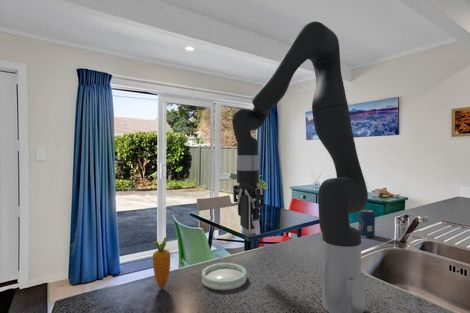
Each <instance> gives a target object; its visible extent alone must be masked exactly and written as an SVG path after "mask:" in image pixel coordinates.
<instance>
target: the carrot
mask: <svg viewBox="0 0 470 313" xmlns="http://www.w3.org/2000/svg"><path fill="white" fill-rule="evenodd" d="M167 238H168V237H166V236H165V237H163V240H162V242H161V243H160V244H159V241H158V240H155V241H154V242H153V244H154V246H155V247H156V249H157V250H156V251H154V253H152V265H153V266H152V267H153V274H154V278H155V281H156V284H157V285H158V287H159V289H161V290H163V289H164V288H165V286H166V285H167V282H168V279H169V275H170V270H171V252H170V251H169V250H167V249H166V245H167V240H168V239H167Z"/></svg>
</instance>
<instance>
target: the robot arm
mask: <svg viewBox="0 0 470 313" xmlns="http://www.w3.org/2000/svg"><path fill="white" fill-rule="evenodd" d="M340 51H341V50H340V41H339V38H338V36H337V35H336V33H335V32H334V31H333V30H332V29H331V28H329V27H328V26H326V25H325V24H323V23H322V22H319V21H311V22H309V23H307V24H305V25H304V26H303V27H302V28H301V29H300V31H299V32H298V33H297V35H296V36H295V38H294V39H293V41H292V42H291V44H290V46H289V47H288V49H287V50H286V52H285V53H284V55H283V57H282V59H281V60H280V62H279V63H278V65H277V67H276V68H275V70H274V71H273V72H272V74H271V75H270V77H269V78H268V79H267V80H266V81H265V83H264V84H263V85H262V86H261V87H260V89H259V90H258V91H257V92H256V93H255V94H254V96H253V97H252V98H251V102H252V105H253V107H252V109H247V108H238V109H237V110H235V112H234V113H233V115H232V120H231V122H232V123H231V124H232V129H233V132H234V138H235V141H236V145H237V146H236V154H237V156H236V183H237V184H235V185H233V186H232V188H233V193H232V194H233V196H232V197H233V202H234V203H236V205H237V216H239V217H240V200H241V196H242V194H246V195H248V196H249V198H250V202H251V203H252V207H253V209H252V221H257V220H259V219H260V209H261V208H262V207H263V208H264V206H265V189H264V187H261V188H259V187H258V183H259V182H260V160H259V159H260V158H259V143H258V142H259V141H258V139H257V138H255V137H253V136H252V133H251V132H253V131H256V130H258V129H260V128H261V127H262V125H263V124H264V123H265V121H266V119H267V118H268V116H269V114H270V113H271V111H272V110H273V109H274V107H275V106H276V105H277V104H278V103H279V102H280V101H281V100H282V99H283V98H284V96H285V95H286V93H287V91H288V88H289V87H290V83H291V81H292V78H293V76H294V74H295V73H296V72H297V71H298V69H299V68H300V67H301V66H302V65H303V64H304V62H306V61H307V60H309V61H310V62H311V63H312V66H313V71H314V74H315V82H316V84H315V91H314V94H313V98H312V102H311V103H312V104H311V113H312V117H313V118H312V120H313V125H314V130H315V133H316V136H317V137H318V139H319V141H320V142H321V143H322V145H323V147H324V149H326V151H327V152H328V154H329V155H330V158H331V159H332V162H333V165H334V169H335V173H336V177H332V178H328V179H325V180H324V181H323V182H322V183H321V184H320V185H319V188H318V195H317V205H318V221H319V222H318V224H319V228H320V231H321V235H322V237H321V238H322V307H323V309H324V310H325V311H326V312H328V313H365V311H366V297H365V296H366V290H365V289H366V286H365V285H366V282H365V280H366V274H365V273H364V272H362V237H361V233H360V231H359V228H356V227H353V226H351V225H350V215H351V214H354V213H356V214H357V213H359V212H360V211H362V210H363V209H365V208H366V206H367V204H368V200H369V199H368V197H369V195H368V194H369V193H368V188H367V183H366V180H365V177H364V173H363V170H362V166H361V163H360V161H359V158H358V157H359V156H358V153H357V148H356V142H355V138H354V137H355V136H354V133H353V132H354V131H353V127H352V120H351V114H350V110H349V103H348V100H347V99H348V98H347V95H346V89H345V85H344V80H343V76H342V69H341V68H342V67H341V53H340ZM252 196H255V197H256V198H255V199H252V198H251V197H252ZM254 201H256V204H255V203H254ZM349 214H350V215H349Z"/></svg>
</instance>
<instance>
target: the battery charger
mask: <svg viewBox="0 0 470 313" xmlns="http://www.w3.org/2000/svg"><path fill="white" fill-rule="evenodd" d="M251 198H252V199H255V198H256V197H255V196H252V197H251ZM254 203H255V204H256V201H254ZM252 209H253V207H252V203H251V202H250V198H249V196H248V195H246V194H242V196H241V200H240V216H239V218H240V221H239V222H240V224H239V225H240V226H241V227H242V228H243V229H245V230H248V231H251V230H255V229H256V226H254V224H253V218H252Z"/></svg>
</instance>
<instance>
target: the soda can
mask: <svg viewBox="0 0 470 313" xmlns="http://www.w3.org/2000/svg"><path fill="white" fill-rule="evenodd" d="M358 230H359V231H360V233H361V235H362V236H366V237H372V238H374V237H375V235H376V214H375V213H374V210H373V209H367V208H366V209H365V208H364V209H363V210H362V211H360V212H358ZM373 236H374V237H373Z"/></svg>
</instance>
